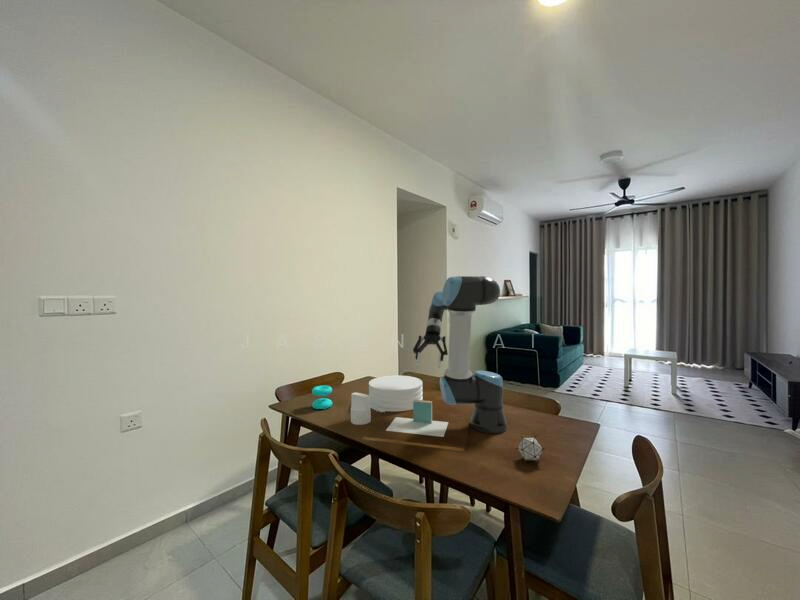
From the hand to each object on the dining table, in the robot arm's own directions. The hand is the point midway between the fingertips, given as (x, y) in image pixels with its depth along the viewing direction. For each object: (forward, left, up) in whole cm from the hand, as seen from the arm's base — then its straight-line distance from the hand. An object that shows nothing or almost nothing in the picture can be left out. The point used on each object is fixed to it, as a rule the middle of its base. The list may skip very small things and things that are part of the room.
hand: (428, 365), depth 158 cm
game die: (-42, +35, -23) cm, 59 cm away
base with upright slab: (+28, +17, -23) cm, 40 cm away
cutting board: (+1, +19, -23) cm, 30 cm away
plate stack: (+19, -9, -23) cm, 31 cm away
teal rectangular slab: (0, +13, -22) cm, 26 cm away
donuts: (+54, +5, -23) cm, 59 cm away
